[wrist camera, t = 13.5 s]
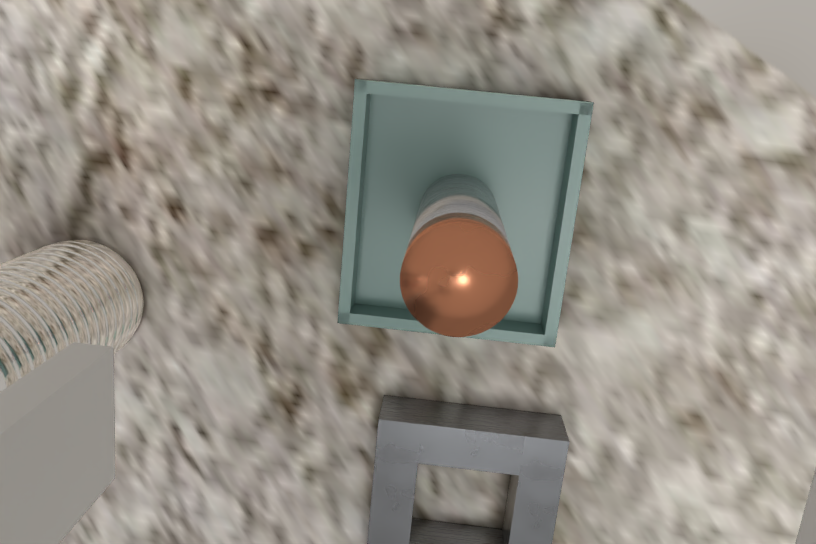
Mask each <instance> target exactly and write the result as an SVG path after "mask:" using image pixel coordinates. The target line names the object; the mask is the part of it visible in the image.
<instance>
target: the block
mask: <svg viewBox="0 0 816 544" xmlns="http://www.w3.org/2000/svg"><path fill="white" fill-rule="evenodd" d="M568 446H569V439H568V436H567V433H566V429H565V426H564V423H563V420H562V417H561V415H552V414H543V413H535V412H526V411H517V410H509V409H500V408H491V407H483V406H474V405H465V404H457V403H448V402H439V401H431V400H422V399H413V398H405V397H396V396H387V395H384V398H383V403H382V407H381V411H380V415H379V421H378V431H377V442H376V453H375V464H374V475H373V486H372V497H371V508H370V519H369V530H368V541H367V544H552V540H553V534H554V528H555V522H556V517H557V511H558V505H559V499H560V493H561V487H562V481H563V475H564V470H565V464H566V458H567V452H568ZM418 464H427V465H435V466H444V467H452V468H460V469H469V470H477V471H486V472H494V473H502V474H511V476H510V483H509V490H508V496H507V503H506V510H505V517H504V523H503V529H495V528H487V527H478V526H470V525H462V524H454V523H446V522H437V521H429V520H421V519H413V518H412V512H413V503H414V494H415V485H416V476H417V467H418Z"/></svg>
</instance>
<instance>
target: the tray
mask: <svg viewBox="0 0 816 544" xmlns="http://www.w3.org/2000/svg"><path fill="white" fill-rule="evenodd" d="M593 104H594V103H593V102H587V101H579V100H569V99H558V98H548V97H538V96H528V95H518V94H507V93H497V92H487V91H477V90H467V89H456V88H446V87H436V86H426V85H416V84H405V83H395V82H385V81H375V80H365V79H355V87H354V101H353V115H352V129H351V142H350V156H349V170H348V184H347V198H346V212H345V226H344V240H343V254H342V268H341V281H340V295H339V309H338V323H342V324H351V325H360V326H369V327H378V328H387V329H395V330H404V331H413V332H422V333H431V334H438V333H436V332H434V331H431V330H430V329H428V328H426V327H425V326H423V325H422V324H421V323H419V322H418V321H417V320H416V319H415V318H414V317H413V315H412V314H411V313H410V311H409V310H408V308H407V306H406V305H405V302H404V300H403V297H402V294H401V290H400V271H401V266H402V263H403V260H404V256H405V253H406V250H407V246H408V243H409V240H410V236H411V233H412V230H413V226H414V223H415V220H416V216H417V213H418V210H419V207H420V203H421V200H422V198H423V195H424V194H425V192H426V190H427V189H428V188H429V187H430V186H431V185H432V184H433V183H434V182H436V181H437V180H439V179H440V178H442V177H445V176H448V175H453V174H464V175H469V176H472V177H474V178H477V179H478V180H480V181H482V182H483V183H484V184H485V185H486V186H487V187H488V188H489V189H490V191H491V192H492V194H493V196H494V198H495V201H496V204H497V207H498V210H499V213H500V216H501V219H502V223H503V226H504V229H505V232H506V235H507V238H508V241H509V244H510V248H511V251H512V254H513V257H514V260H515V263H516V267H517V272H518V289H517V294H516V297H515V300H514V302H513V304H512V306H511V308H510V310H509V311H508V313H507V314H506V315H505V316H504V318H503V319H502V320H501V321H500V322H498V323H497V324H496V325H495V326H493V327H492V328H490V329H489V330H486V331H484V332H482V333H479V334H476V335H472V336H467V338H476V339H485V340H494V341H503V342H512V343H521V344H530V345H539V346H548V347H555V344H556V338H557V331H558V325H559V319H560V312H561V306H562V300H563V293H564V287H565V281H566V274H567V268H568V262H569V256H570V249H571V243H572V237H573V230H574V224H575V218H576V211H577V205H578V199H579V192H580V186H581V180H582V173H583V167H584V161H585V155H586V148H587V142H588V136H589V129H590V123H591V117H592V110H593ZM440 335H442V334H440Z"/></svg>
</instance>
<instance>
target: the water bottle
mask: <svg viewBox="0 0 816 544" xmlns="http://www.w3.org/2000/svg"><path fill="white" fill-rule="evenodd" d="M143 304H144V303H143V293H142V289H141V285H140V283H139V280H138V278H137V276H136V274H135V272H134V271H133V269H132V268H131V267H130V265H129V264H128V263H127V262H126V261H125V260H124V259H123V258H122V257H121V256H120V255H119V254H117V253H116V252H115V251H113V250H112V249H110V248H108V247H106V246H104V245H101V244H99V243H96V242H92V241H87V240H67V241H61V242H57V243H53V244H50V245H46V246H44V247H41V248H39V249H36V250H34V251H31V252H29V253H26V254H24V255H21V256H19V257H17V258H14V259H11V260H9V261H7V262H4V263H1V264H0V392H1V391H3V390H4V389H6V388H7V387H9V386H10V385H11V384H13V383H14V382H16V381H17V380H19V379H20V378H22V377H23V376H25V375H26V374H28V373H29V372H31V371H32V370H34V369H35V368H36V367H38V366H39V365H41V364H42V363H44V362H45V361H47V360H48V359H50V358H51V357H53V356H54V355H56V354H57V353H59V352H60V351H61V350H63V349H64V348H66V347H67V346H69V345H70V344H72V343H73V342H76V343H85V344H93V345H102V346H111V347H114V354H115V353H116V352H118V351H119V350H120V349H121V348H122V347H123V346H124V345H125V344H126V343H127V342H128V341H129V340H130V338H131V337H132V336H133V334H134V333H135V331H136V330H137V328H138V326H139V324H140V321H141V318H142V314H143Z"/></svg>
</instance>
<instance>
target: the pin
mask: <svg viewBox="0 0 816 544" xmlns="http://www.w3.org/2000/svg"><path fill="white" fill-rule="evenodd" d="M517 289H518V272H517V267H516V263H515V260H514V257H513V254H512V251H511V248H510V244H509V241H508V238H507V235H506V232H505V229H504V226H503V223H502V219H501V216H500V213H499V210H498V207H497V204H496V201H495V198H494V196H493V194H492V192H491V191H490V189H489V188H488V187H487V186H486V185H485V184H484V183H483V182H482V181H480V180H478V179H477V178H474V177H472V176H469V175H464V174H453V175H448V176H445V177H442V178H440V179H439V180H437V181H436V182H434V183H433V184H432V185H431V186H430V187H429V188H428V189H427V190H426V192H425V194H424V195H423V198H422V200H421V203H420V207H419V210H418V213H417V216H416V220H415V223H414V226H413V230H412V233H411V236H410V240H409V243H408V246H407V250H406V253H405V256H404V260H403V263H402V266H401V271H400V290H401V294H402V297H403V300H404V302H405V305H406V306H407V308H408V310H409V311H410V313H411V314H412V315H413V317H414V318H415V319H416V320H417V321H418V322H419V323H421V324H422V325H423V326H425V327H426V328H428V329H430V330H431V331H434V332H436V333H438V334H442V335H445V336H451V337H467V336H472V335H476V334H479V333H482V332H484V331H486V330H489V329H490V328H492V327H493V326H495V325H496V324H497V323H498V322H500V321H501V320H502V319H503V318H504V316H505V315H506V314H507V313H508V311H509V310H510V308H511V306H512V304H513V302H514V300H515V297H516V294H517Z"/></svg>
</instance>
